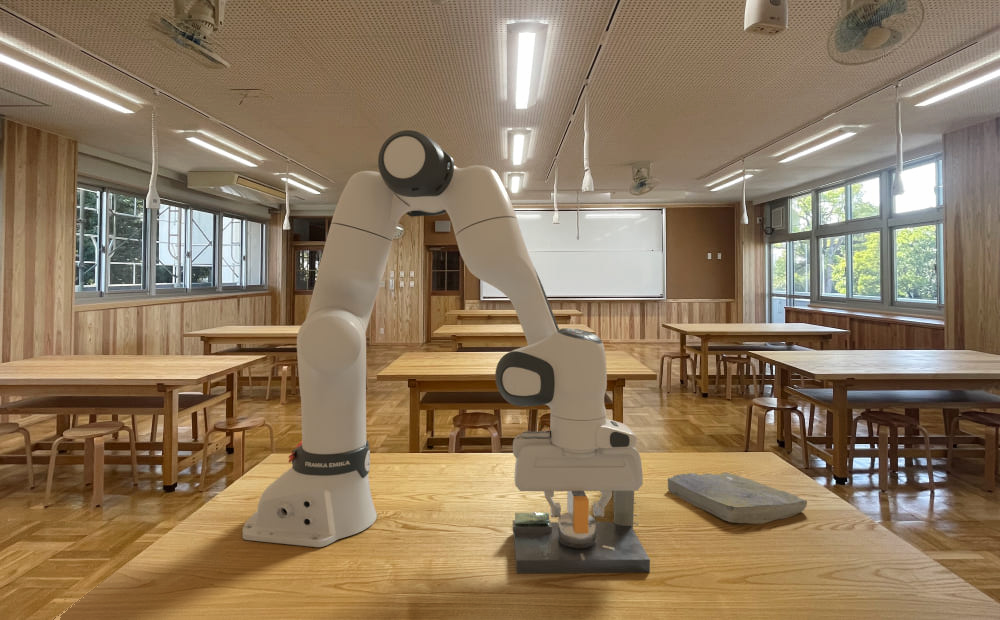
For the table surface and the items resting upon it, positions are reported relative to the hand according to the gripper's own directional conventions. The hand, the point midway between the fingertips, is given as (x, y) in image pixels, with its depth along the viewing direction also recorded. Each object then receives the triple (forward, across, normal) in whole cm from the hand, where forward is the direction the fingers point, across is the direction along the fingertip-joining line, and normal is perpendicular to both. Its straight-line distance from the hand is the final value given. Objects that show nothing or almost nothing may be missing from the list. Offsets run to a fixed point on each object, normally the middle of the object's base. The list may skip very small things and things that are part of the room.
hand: (577, 515), depth 83 cm
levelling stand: (+6, 0, 0) cm, 6 cm away
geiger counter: (+7, +11, +17) cm, 21 cm away
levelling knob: (+4, 0, 0) cm, 4 cm away
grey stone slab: (+7, +34, +19) cm, 39 cm away
